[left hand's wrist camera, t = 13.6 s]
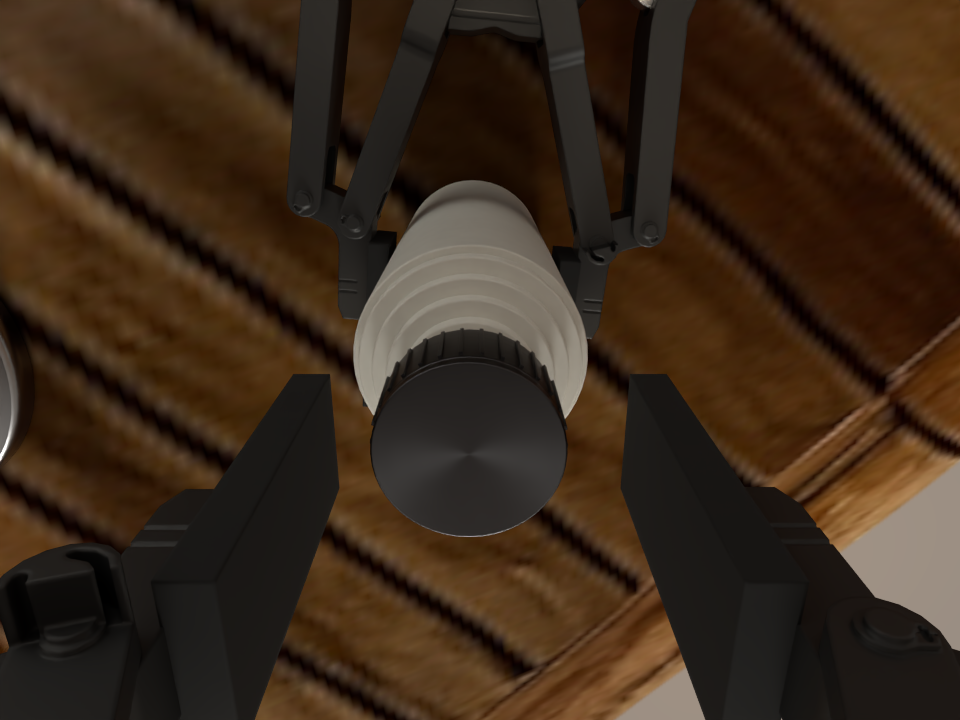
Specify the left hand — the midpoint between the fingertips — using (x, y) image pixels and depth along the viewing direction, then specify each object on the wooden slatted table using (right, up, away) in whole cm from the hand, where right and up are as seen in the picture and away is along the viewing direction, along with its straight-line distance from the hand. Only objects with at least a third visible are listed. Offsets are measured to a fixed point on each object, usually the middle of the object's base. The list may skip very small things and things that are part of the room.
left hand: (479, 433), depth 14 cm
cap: (0, 0, -1) cm, 1 cm away
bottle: (0, +7, +18) cm, 19 cm away
